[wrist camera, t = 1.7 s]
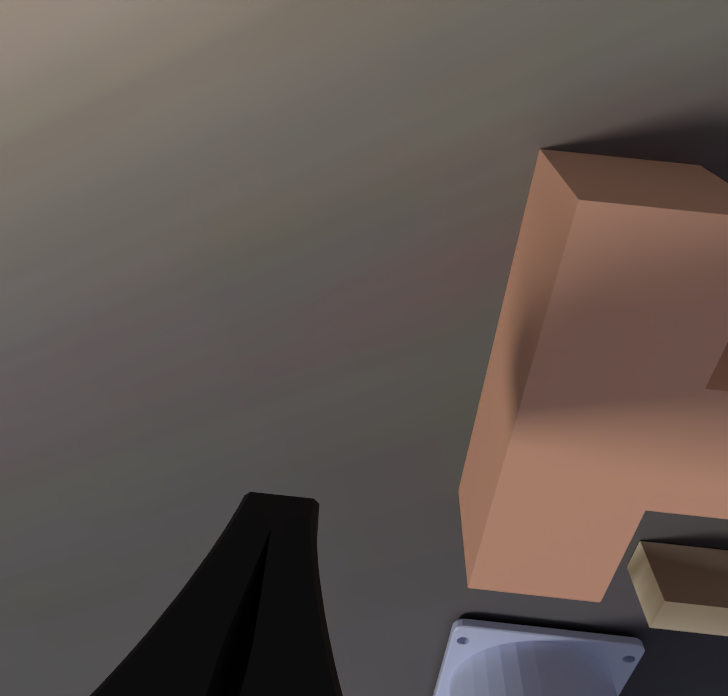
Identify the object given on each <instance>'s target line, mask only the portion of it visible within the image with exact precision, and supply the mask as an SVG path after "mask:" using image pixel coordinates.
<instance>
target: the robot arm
mask: <svg viewBox="0 0 728 696" xmlns="http://www.w3.org/2000/svg"><path fill="white" fill-rule="evenodd" d="M318 515H319V503H318V502H317V501H316V500H315V499H312V498H302V497H293V496H284V495H274V494H265V493H256V492H249V493H248V494H246V495H245V496H244V497H243V499H242V501H241V503H240V505H239V507H238V508H237V510H236V512H235V513H234V515H233V517H232V518H231V520H230V522H229V523H228V525H227V526H226V528H225V530H224V531H223V533H222V534H221V536H220V537H219V539H218V540H217V542H216V543H215V545H214V546H213V548H212V549H211V551H210V552H209V553H208V555H207V556H206V558H205V559H204V560H203V562H202V563H201V564H200V566H199V567H198V569H197V570H196V571H195V573H194V574H193V575H192V577H191V578H190V580H189V581H188V582H187V584H186V585H185V586H184V588H183V589H182V590H181V592H180V593H179V594H178V596H177V597H176V598H175V599H174V600H173V602H172V603H171V604H170V605H169V607H168V608H167V609H166V610H165V612H164V613H163V614H162V615H161V617H160V618H159V619H158V620H157V621H156V623H155V624H154V625H153V626H152V628H151V629H150V630H149V631H148V632H147V634H146V635H145V636H144V637H143V638H142V639H141V641H140V642H139V643H138V644H137V645H136V646H135V648H134V649H133V650H132V651H131V652H130V653H129V654H128V655H127V657H126V658H125V659H124V660H123V661H122V662H121V663H120V664H119V665H118V666H117V668H116V669H115V670H114V671H113V672H112V673H111V674H110V675H109V676H108V677H107V678H106V679H105V681H104V682H103V683H102V684H101V685H100V686H99V687H98V688H97V689H96V690H95V691H94V692H93V693H92V694H91V695H90V696H343V695H342V691H341V688H340V684H339V679H338V675H337V671H336V667H335V662H334V658H333V653H332V648H331V644H330V639H329V634H328V629H327V623H326V618H325V612H324V606H323V599H322V592H321V585H320V578H319V568H318V555H317V531H318ZM644 652H645V649H644V646H643V643H642V641H641V640H639V639H638V638H634V637H627V636H618V635H609V634H600V633H591V632H582V631H573V630H564V629H555V628H546V627H536V626H527V625H518V624H509V623H500V622H491V621H482V620H473V619H459V620H457V621H455V622H454V624H453V625H452V629H451V633H450V636H449V640H448V643H447V647H446V651H445V654H444V658H443V662H442V665H441V669H440V672H439V676H438V680H437V683H436V687H435V690H434V694H433V696H619V694H620V692H621V691H622V689H623V687H624V686H625V684H626V682H627V681H628V679H629V677H630V676H631V674H632V672H633V671H634V669H635V667H636V666H637V664H638V662H639V661H640V659H641V657H642V656H643V654H644Z"/></svg>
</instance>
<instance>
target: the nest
mask: <svg viewBox="0 0 728 696" xmlns="http://www.w3.org/2000/svg"><path fill="white" fill-rule="evenodd" d="M627 568H628V571H629V574H630V577H631V579H632V582H633V585H634V587H635V590H636V593H637V595H638V598H639V601H640V603H641V606H642V609H643V612H644V614H645V617H646V620H647V622H648V625H649V628H658V629H667V630H676V631H685V632H694V633H703V634H712V635H721V636H728V550H719V549H710V548H701V547H692V546H682V545H673V544H664V543H655V542H646V541H640V542H639V544H638V546H637V548H636V550H635V552H634V554H633V556H632V558H631V560H630V562H629V564H628V566H627Z"/></svg>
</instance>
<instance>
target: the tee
mask: <svg viewBox="0 0 728 696" xmlns="http://www.w3.org/2000/svg"><path fill="white" fill-rule="evenodd" d="M459 501H460V511H461V521H462V532H463V542H464V552H465V563H466V573H467V583H468V588H474V589H483V590H492V591H501V592H510V593H519V594H528V595H537V596H547V597H556V598H565V599H574V600H583V601H592V602H601V600H602V598H603V596H604V594H605V592H606V590H607V588H608V586H609V584H610V582H611V580H612V578H613V575H614V573H615V571H616V569H617V567H618V565H619V563H620V561H621V559H622V557H623V555H624V553H625V551H626V549H627V547H628V545H629V543H630V541H631V539H632V537H633V535H634V533H635V531H636V529H637V527H638V524H639V522H640V520H641V518H642V516H643V514H644V512H645V510H647V511H656V512H665V513H675V514H684V515H693V516H702V517H712V518H721V519H728V183H727V182H725V181H724V180H722V179H721V178H719V177H718V176H716V175H714V174H713V173H711V172H710V171H708V170H707V169H705V168H703V167H702V166H700V165H693V164H683V163H674V162H664V161H654V160H644V159H634V158H624V157H614V156H605V155H595V154H585V153H575V152H565V151H555V150H545V149H540V150H539V154H538V158H537V162H536V167H535V171H534V175H533V179H532V183H531V188H530V192H529V196H528V200H527V204H526V209H525V213H524V217H523V221H522V225H521V230H520V234H519V238H518V242H517V247H516V251H515V255H514V259H513V263H512V268H511V272H510V276H509V280H508V284H507V289H506V293H505V297H504V301H503V306H502V310H501V314H500V318H499V322H498V327H497V331H496V335H495V339H494V343H493V348H492V352H491V356H490V360H489V365H488V369H487V373H486V377H485V381H484V386H483V390H482V394H481V398H480V402H479V407H478V411H477V415H476V419H475V424H474V428H473V432H472V436H471V440H470V445H469V449H468V453H467V457H466V461H465V466H464V470H463V474H462V478H461V483H460V487H459Z"/></svg>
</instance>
